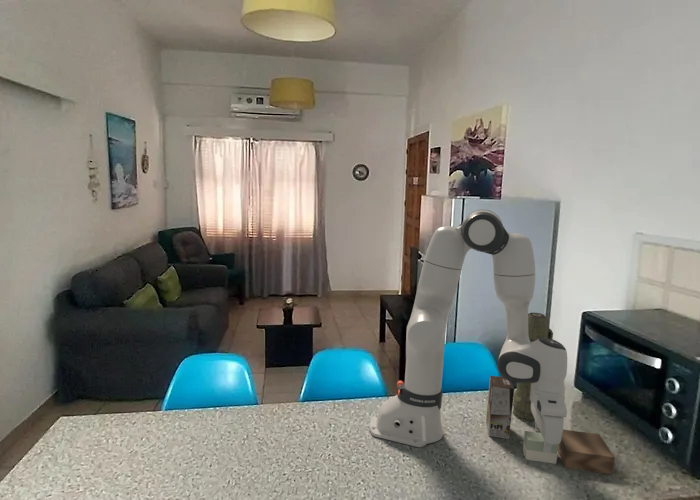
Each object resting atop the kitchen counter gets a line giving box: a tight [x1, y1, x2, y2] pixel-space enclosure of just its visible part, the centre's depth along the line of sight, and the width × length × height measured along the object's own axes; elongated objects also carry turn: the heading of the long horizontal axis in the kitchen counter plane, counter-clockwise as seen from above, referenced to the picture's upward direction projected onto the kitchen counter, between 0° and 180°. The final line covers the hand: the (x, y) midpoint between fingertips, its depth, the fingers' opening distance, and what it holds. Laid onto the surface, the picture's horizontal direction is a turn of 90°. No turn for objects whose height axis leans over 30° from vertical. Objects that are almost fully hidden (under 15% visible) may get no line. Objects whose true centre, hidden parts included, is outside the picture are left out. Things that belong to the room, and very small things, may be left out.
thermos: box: [512, 312, 554, 422], centre depth 155 cm, size 9×12×35 cm
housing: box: [522, 430, 558, 464], centre depth 133 cm, size 8×5×6 cm, turn 80°
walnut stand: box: [557, 429, 615, 475], centre depth 133 cm, size 12×12×5 cm
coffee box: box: [485, 375, 515, 440], centre depth 146 cm, size 9×6×16 cm
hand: (542, 442), depth 133 cm, fingers open, 8 cm apart
